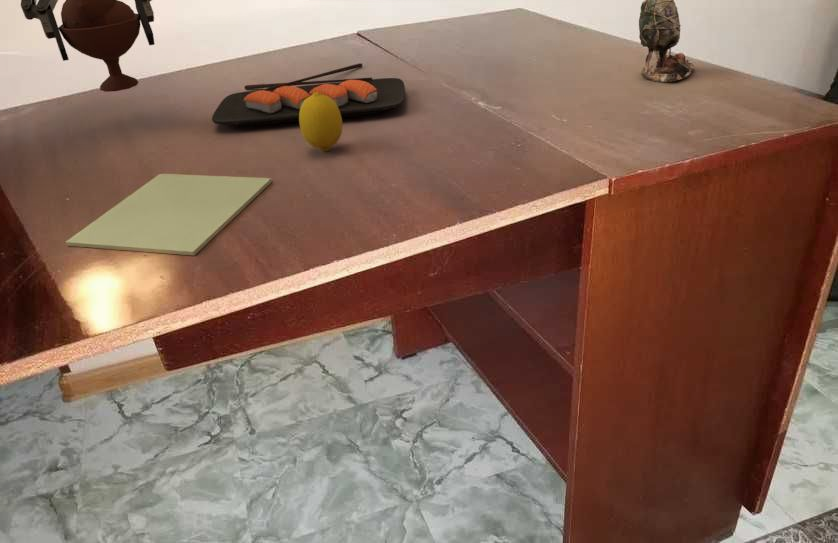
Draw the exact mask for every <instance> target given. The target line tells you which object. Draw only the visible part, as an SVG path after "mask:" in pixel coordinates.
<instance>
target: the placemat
mask: <svg viewBox="0 0 838 543" xmlns="http://www.w3.org/2000/svg"><path fill="white" fill-rule="evenodd" d="M272 182H273V179H272V178H271V177H253V176H252V177H251V176H250V177H249V176H227V175H206V174H205V175H201V174H177V173H159V174H158V175H156V176H155V177H153V178H152V179H150V180H149V181H148V182H147V183H145V184H144V185H143V186H141V187H139V188H138V189H137V190H135V191H134V192H132V193H131V194H130V195H128V196H127V197H125V198H124V199H123V200H121V201H120V202H119V203H117V204H116V205H114V206H113V207H112V208H110V209H109V210H108V211H106V212H104V213H103V214H102V215H101V216H99V217H98V218H96V219H95V220H93V221H92V222H91V223H89V224H88V225H87V226H85V227H84V228H83V229H82V230H80V231H78V232H77V233H76V234H74V235H73V236H71V237H70V238H69V239H67V240H66V241H65V245H66V246H67V247H78V248H91V249H103V250H104V249H105V250H115V251H117V250H118V251H129V252H141V253H144V252H145V253H153V254H154V253H155V254H167V255H179V256H180V255H182V256H193V257H194V256H196V255H197V254H198V253H199V252H200V251H201V250H202V249H203V248H204V247H206V245H207V244H209V243H210V242H211V240H212V239H214V238H215V237H216V236H217V235H218V234H219V233H220V232H221V231H222V230H223V229H224V228H225V227H226V226H228V224H230V222H231V221H233V220H234V219H235V218H236V217H237V216H238V215H239V214H240V213H241V212H242V211H243V210H244V209H245V208H247V206H248V205H249V204H251V202H253V200H255V198H257V197H258V196H259V195H260V194H261V193H262V192H263V191H264V190H265V189H266V188H267V187H268V186H269V185H270V184H271V183H272Z"/></svg>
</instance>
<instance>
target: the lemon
mask: <svg viewBox="0 0 838 543" xmlns="http://www.w3.org/2000/svg"><path fill="white" fill-rule="evenodd" d="M298 123H299V128H300V133H301V134H302V137H303V138H304V140H305V141H306V142H307V144H309V145H311V147H314V148H317V149H320V150H321V151H323V152H328V151H329V149H330V148H331V147H333V146H334V145H336V144H337V142H339V140H340V138H341V137H342V136H341V135H342V134H343V133H342V132H343V117H341V114H340V111H339V108H338V106H337V104H336V103H335V102H334V101H333V100H332V99H331V98H330V97H328V96H326V95H323V94H320V93H319V92H314V93H313V94H312V95H311V96H310V97H308V98H307V99H306V100H305V101H304V102H303V103H302V105H301V108H300V112H299V121H298Z"/></svg>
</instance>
